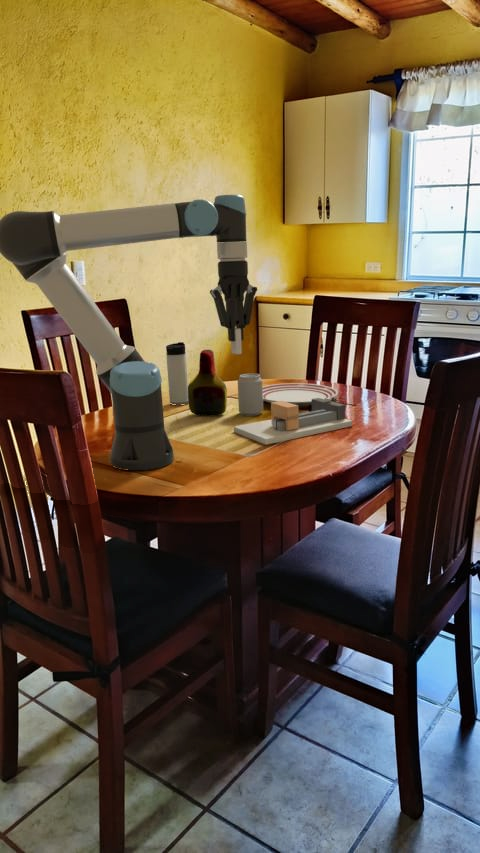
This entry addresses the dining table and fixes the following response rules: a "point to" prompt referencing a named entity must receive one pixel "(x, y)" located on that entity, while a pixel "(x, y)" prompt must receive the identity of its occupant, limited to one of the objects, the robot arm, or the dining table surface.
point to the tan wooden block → (286, 413)
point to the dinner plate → (297, 393)
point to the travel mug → (177, 373)
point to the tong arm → (299, 416)
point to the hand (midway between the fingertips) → (236, 353)
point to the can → (250, 394)
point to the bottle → (207, 389)
